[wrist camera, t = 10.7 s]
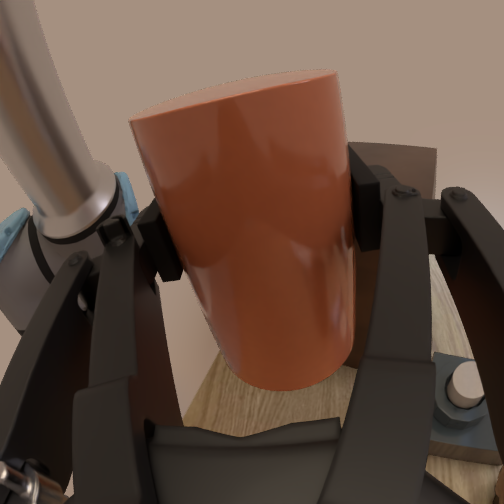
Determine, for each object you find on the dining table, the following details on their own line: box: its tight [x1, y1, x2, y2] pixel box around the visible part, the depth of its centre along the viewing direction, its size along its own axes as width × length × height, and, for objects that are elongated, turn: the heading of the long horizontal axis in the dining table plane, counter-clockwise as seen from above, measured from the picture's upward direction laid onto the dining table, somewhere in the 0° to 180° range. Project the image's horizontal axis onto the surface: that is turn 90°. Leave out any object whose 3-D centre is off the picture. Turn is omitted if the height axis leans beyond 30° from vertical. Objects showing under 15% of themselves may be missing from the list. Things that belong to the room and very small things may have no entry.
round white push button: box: [447, 361, 484, 408], centre depth 21 cm, size 4×4×2 cm
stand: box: [342, 142, 437, 369], centre depth 33 cm, size 16×12×22 cm
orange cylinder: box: [128, 69, 356, 391], centre depth 13 cm, size 7×7×12 cm
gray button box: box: [428, 352, 503, 465], centre depth 22 cm, size 12×10×6 cm
